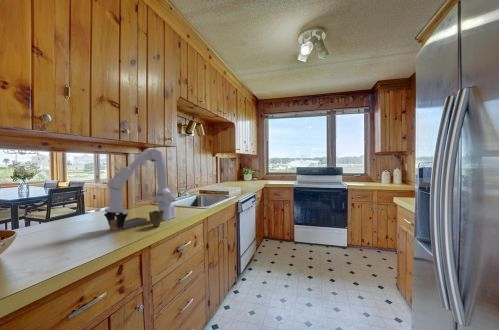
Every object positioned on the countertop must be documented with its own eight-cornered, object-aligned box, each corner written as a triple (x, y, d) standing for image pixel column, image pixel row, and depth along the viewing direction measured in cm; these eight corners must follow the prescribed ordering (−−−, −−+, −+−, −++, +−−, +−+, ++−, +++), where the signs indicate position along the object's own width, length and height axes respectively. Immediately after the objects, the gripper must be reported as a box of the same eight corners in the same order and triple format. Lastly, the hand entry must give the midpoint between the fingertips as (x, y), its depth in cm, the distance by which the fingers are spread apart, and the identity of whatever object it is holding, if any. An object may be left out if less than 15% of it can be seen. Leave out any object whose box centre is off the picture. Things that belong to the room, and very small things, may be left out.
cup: (166, 224, 123) (166, 210, 123) (159, 228, 116) (159, 213, 116) (153, 224, 124) (153, 209, 124) (146, 227, 116) (146, 212, 116)
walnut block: (118, 227, 117) (117, 218, 117) (123, 228, 116) (123, 219, 116) (109, 230, 113) (109, 220, 113) (115, 231, 111) (115, 221, 111)
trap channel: (137, 221, 131) (137, 216, 131) (147, 222, 128) (147, 218, 128) (115, 227, 118) (115, 222, 118) (125, 228, 115) (125, 224, 115)
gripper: (98, 201, 113) (99, 227, 113) (118, 202, 107) (118, 230, 108) (112, 199, 120) (112, 223, 120) (130, 200, 114) (131, 226, 114)
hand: (116, 226), depth 114 cm, fingers open, 6 cm apart
